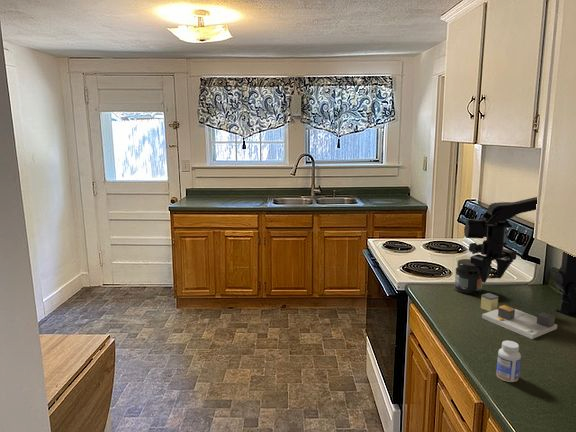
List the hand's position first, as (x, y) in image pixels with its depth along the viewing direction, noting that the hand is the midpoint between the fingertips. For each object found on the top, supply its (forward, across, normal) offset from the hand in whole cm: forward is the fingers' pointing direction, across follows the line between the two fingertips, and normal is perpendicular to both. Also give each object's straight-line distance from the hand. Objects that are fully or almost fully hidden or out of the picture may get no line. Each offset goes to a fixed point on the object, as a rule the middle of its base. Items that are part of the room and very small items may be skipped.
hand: (491, 280), depth 159 cm
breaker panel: (+11, +2, +13) cm, 17 cm away
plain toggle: (+9, -1, +20) cm, 22 cm away
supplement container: (+11, -9, -16) cm, 22 cm away
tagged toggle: (+9, +5, +10) cm, 14 cm away
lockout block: (+11, 0, 0) cm, 11 cm away
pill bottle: (+11, +36, +31) cm, 49 cm away
